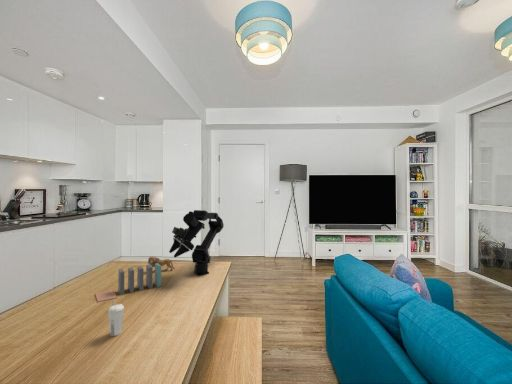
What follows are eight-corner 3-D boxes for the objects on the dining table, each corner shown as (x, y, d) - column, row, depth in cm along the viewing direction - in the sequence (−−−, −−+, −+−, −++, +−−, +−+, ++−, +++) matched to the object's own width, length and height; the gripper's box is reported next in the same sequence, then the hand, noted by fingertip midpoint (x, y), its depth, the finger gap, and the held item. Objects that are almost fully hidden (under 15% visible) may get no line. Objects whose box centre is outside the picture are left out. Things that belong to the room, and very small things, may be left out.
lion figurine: (148, 274, 138) (148, 258, 137) (147, 271, 142) (147, 255, 142) (175, 270, 144) (176, 255, 144) (174, 268, 149) (174, 253, 149)
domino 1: (122, 290, 115) (122, 268, 115) (124, 294, 111) (124, 271, 111) (118, 291, 114) (118, 269, 114) (120, 295, 110) (120, 272, 110)
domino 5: (157, 283, 125) (158, 263, 125) (160, 286, 121) (161, 265, 121) (154, 283, 124) (154, 263, 124) (157, 287, 120) (157, 266, 120)
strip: (113, 290, 115) (113, 289, 115) (116, 298, 107) (116, 297, 107) (95, 294, 111) (95, 293, 111) (97, 302, 103) (97, 301, 103)
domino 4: (149, 284, 123) (149, 264, 122) (152, 288, 119) (152, 267, 118) (146, 285, 122) (146, 265, 121) (148, 288, 118) (149, 267, 118)
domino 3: (140, 286, 120) (141, 265, 120) (143, 290, 116) (143, 268, 116) (137, 287, 119) (137, 266, 119) (139, 290, 115) (139, 269, 115)
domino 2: (131, 288, 118) (131, 267, 118) (133, 292, 114) (134, 270, 114) (127, 289, 117) (128, 268, 117) (130, 292, 113) (130, 270, 113)
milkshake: (119, 327, 85) (119, 297, 85) (126, 332, 82) (126, 302, 81) (104, 332, 81) (104, 302, 81) (111, 339, 78) (111, 307, 78)
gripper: (176, 218, 137) (156, 241, 132) (187, 223, 122) (164, 249, 116) (191, 231, 142) (171, 253, 137) (203, 237, 126) (181, 263, 121)
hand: (172, 254), depth 128 cm, fingers open, 9 cm apart
